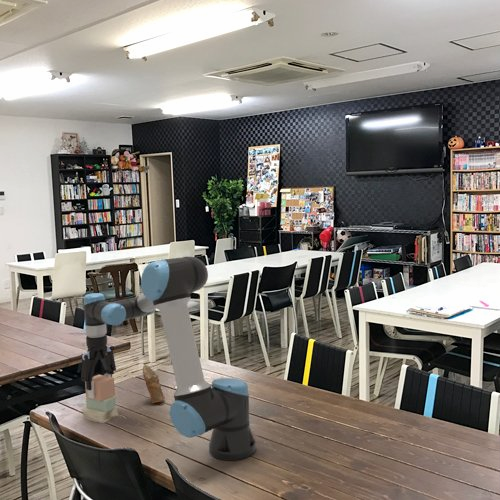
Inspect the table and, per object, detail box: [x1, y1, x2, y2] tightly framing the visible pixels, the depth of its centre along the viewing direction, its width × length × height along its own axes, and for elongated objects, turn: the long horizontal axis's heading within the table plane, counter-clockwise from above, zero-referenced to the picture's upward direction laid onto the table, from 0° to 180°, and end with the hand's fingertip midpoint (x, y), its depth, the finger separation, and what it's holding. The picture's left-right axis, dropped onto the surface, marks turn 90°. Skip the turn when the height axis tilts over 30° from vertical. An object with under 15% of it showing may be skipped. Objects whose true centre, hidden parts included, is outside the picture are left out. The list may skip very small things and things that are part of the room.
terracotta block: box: [84, 374, 116, 402], centre depth 217 cm, size 7×8×7 cm
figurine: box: [142, 364, 166, 404], centre depth 230 cm, size 8×8×15 cm
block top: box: [85, 396, 117, 412], centre depth 217 cm, size 5×10×4 cm, turn 62°
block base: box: [82, 405, 119, 424], centre depth 217 cm, size 8×10×4 cm
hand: (100, 394), depth 217 cm, fingers open, 7 cm apart
